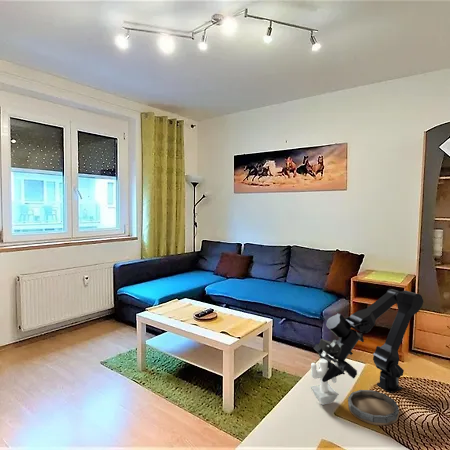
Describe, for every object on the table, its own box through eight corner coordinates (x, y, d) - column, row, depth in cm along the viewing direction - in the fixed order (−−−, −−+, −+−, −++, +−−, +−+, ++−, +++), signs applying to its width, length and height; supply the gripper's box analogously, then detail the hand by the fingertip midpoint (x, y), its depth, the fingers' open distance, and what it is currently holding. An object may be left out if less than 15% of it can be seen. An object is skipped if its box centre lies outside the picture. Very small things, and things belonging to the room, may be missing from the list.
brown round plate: (372, 392, 125) (372, 390, 125) (409, 417, 111) (409, 414, 111) (338, 403, 119) (338, 401, 119) (373, 431, 105) (373, 428, 105)
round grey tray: (372, 391, 125) (371, 386, 125) (408, 414, 111) (408, 409, 111) (339, 401, 119) (339, 396, 119) (373, 428, 105) (373, 422, 105)
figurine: (341, 403, 117) (340, 362, 116) (317, 408, 115) (316, 367, 114) (330, 392, 124) (329, 353, 123) (307, 396, 122) (306, 357, 121)
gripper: (316, 323, 128) (292, 356, 125) (349, 341, 110) (321, 380, 107) (334, 339, 131) (311, 371, 128) (368, 359, 113) (342, 397, 110)
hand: (320, 379), depth 118 cm, fingers closed on figurine, 3 cm apart
